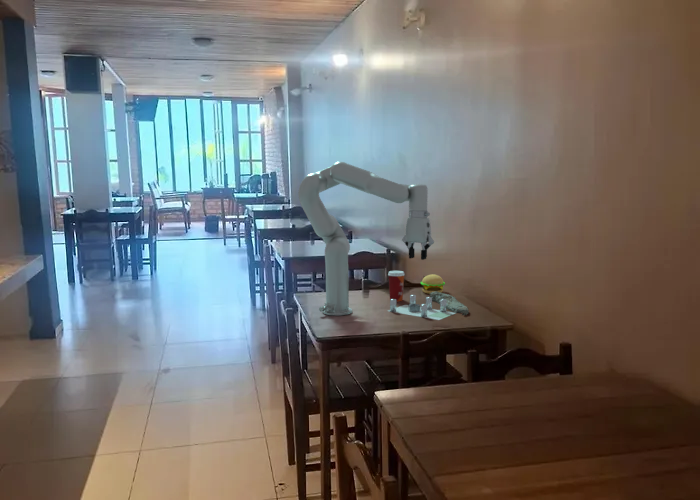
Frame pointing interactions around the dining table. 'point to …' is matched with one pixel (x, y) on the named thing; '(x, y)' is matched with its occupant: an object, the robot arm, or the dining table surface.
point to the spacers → (423, 306)
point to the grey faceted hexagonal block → (414, 307)
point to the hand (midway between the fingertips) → (417, 258)
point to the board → (430, 313)
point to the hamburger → (432, 284)
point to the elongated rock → (450, 302)
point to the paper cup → (396, 285)
